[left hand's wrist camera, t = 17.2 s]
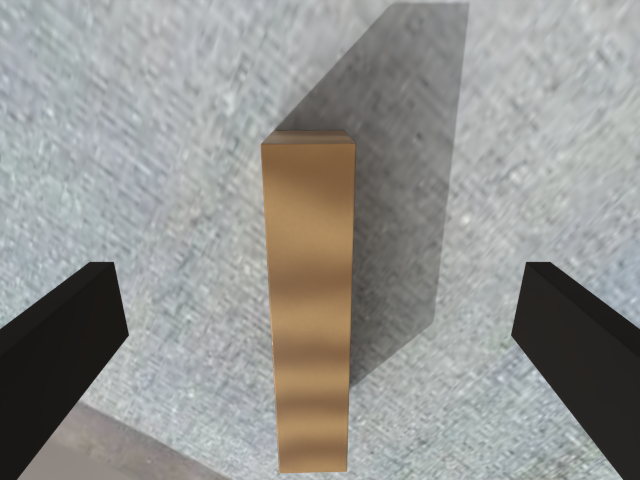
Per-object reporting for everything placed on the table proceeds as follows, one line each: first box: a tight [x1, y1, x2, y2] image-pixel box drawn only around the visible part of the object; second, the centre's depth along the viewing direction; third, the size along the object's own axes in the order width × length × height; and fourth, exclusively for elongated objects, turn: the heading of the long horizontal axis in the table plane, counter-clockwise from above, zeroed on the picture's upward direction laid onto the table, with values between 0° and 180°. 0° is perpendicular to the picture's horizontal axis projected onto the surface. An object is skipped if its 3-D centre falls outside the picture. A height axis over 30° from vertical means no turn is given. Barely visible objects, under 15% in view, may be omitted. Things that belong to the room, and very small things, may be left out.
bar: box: [261, 130, 356, 473], centre depth 30 cm, size 25×5×8 cm, turn 0°
